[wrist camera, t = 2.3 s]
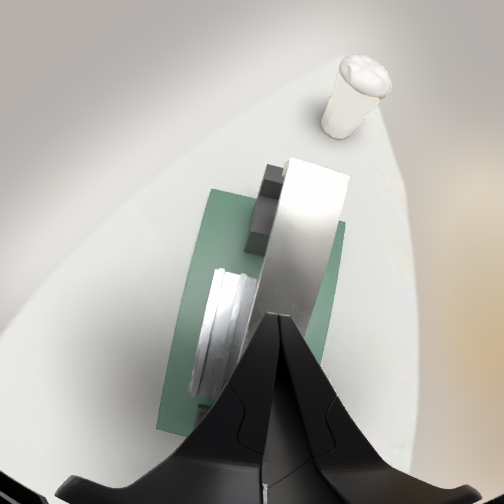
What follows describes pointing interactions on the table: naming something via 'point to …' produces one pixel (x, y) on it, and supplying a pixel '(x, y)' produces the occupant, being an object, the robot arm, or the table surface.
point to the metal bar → (298, 244)
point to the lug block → (264, 211)
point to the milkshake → (354, 94)
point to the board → (197, 293)
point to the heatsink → (222, 332)
